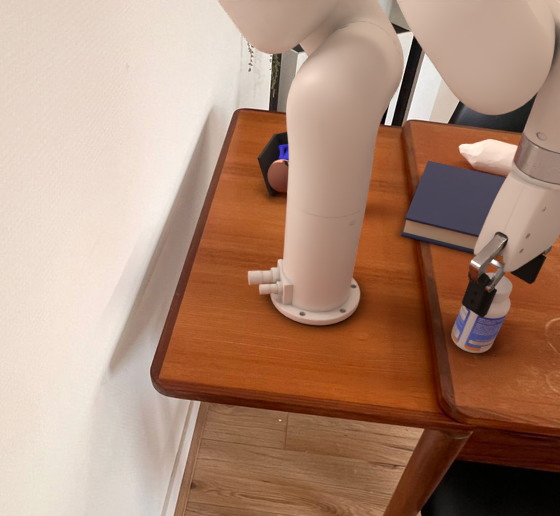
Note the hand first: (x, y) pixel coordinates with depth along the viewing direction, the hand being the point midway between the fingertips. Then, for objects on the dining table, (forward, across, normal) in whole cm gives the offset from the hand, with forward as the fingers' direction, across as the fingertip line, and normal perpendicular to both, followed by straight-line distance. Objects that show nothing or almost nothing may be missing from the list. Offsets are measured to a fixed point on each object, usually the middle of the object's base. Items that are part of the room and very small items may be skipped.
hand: (498, 293), depth 64 cm
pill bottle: (+8, 0, -1) cm, 8 cm away
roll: (+8, -39, -28) cm, 49 cm away
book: (+8, -22, -21) cm, 32 cm away
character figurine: (+7, -5, -46) cm, 47 cm away
